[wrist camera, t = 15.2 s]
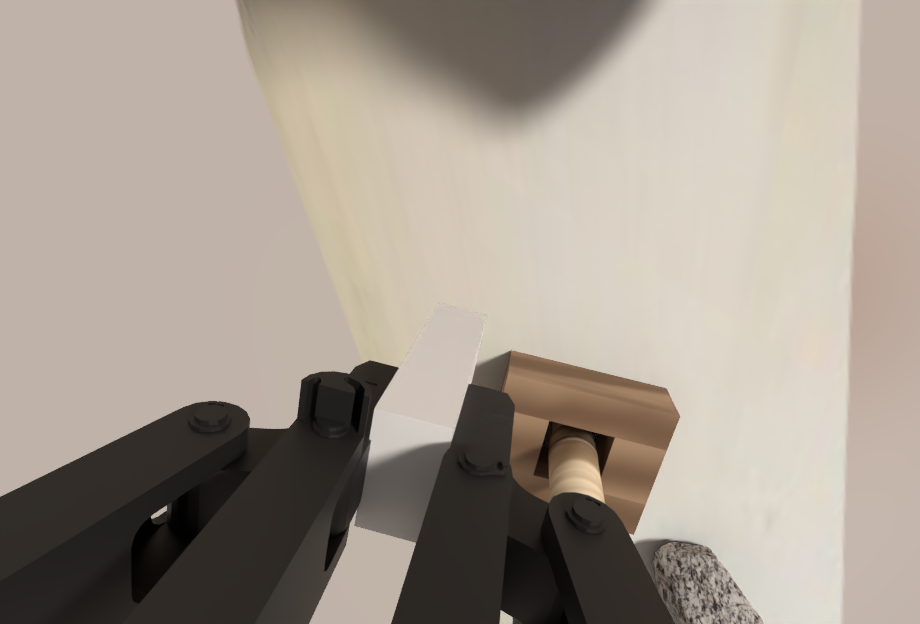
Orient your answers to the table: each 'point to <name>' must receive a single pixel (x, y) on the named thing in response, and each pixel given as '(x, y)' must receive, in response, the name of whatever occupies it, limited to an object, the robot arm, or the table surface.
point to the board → (590, 427)
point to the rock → (699, 587)
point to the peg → (573, 462)
